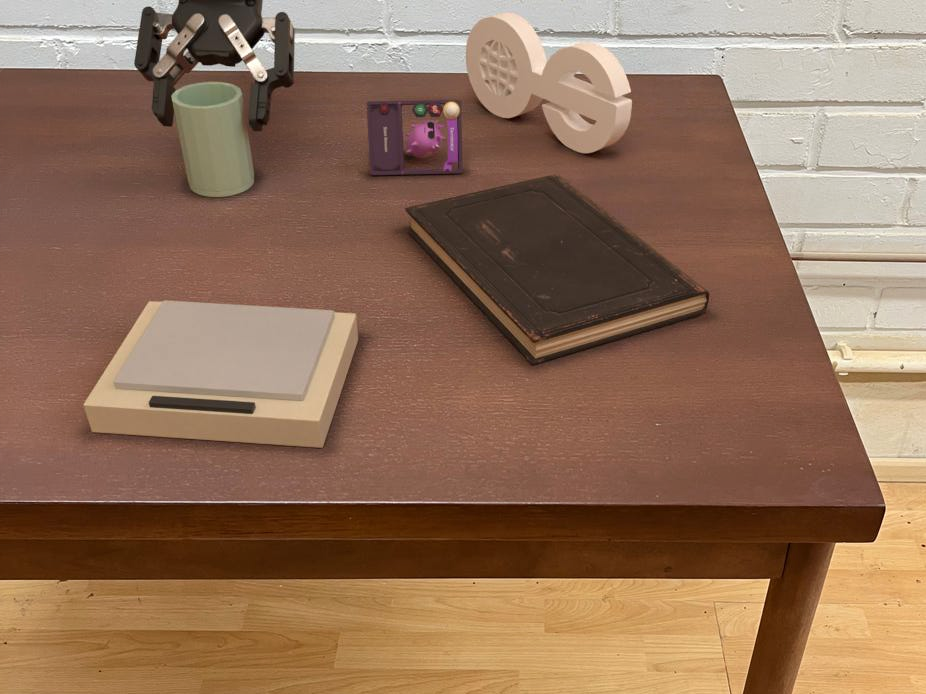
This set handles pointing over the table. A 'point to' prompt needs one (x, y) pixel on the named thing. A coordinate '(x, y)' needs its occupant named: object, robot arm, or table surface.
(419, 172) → the game card
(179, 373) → the scale
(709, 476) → the table surface
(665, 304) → the hardcover book
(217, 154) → the cup
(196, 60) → the robot arm
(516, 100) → the beige logo cutout
